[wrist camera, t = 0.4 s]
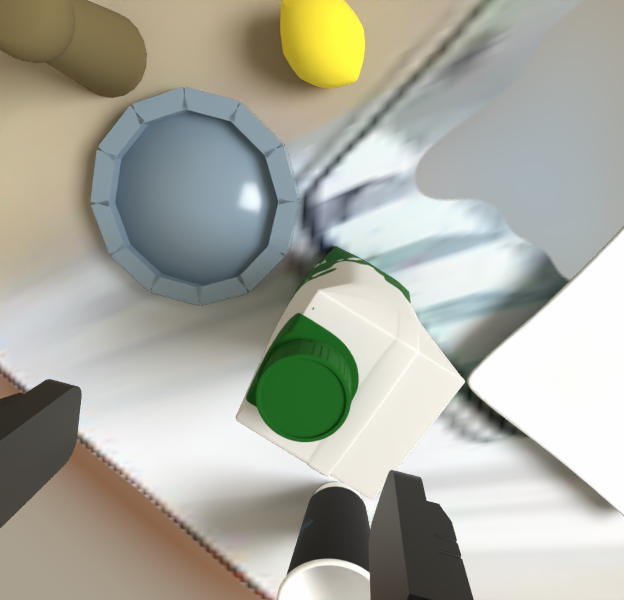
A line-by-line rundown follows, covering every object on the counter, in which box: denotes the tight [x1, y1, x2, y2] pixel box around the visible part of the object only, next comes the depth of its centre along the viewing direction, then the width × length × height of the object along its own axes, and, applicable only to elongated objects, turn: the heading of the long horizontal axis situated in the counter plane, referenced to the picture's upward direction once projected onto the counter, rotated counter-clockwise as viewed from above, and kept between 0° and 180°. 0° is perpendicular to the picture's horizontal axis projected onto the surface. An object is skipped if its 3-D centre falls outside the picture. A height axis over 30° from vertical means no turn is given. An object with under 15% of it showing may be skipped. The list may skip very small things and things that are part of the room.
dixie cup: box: [277, 482, 371, 600], centre depth 38 cm, size 8×8×11 cm
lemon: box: [280, 0, 365, 89], centre depth 31 cm, size 7×5×5 cm
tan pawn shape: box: [0, 0, 147, 98], centre depth 30 cm, size 6×6×11 cm
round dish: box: [90, 87, 301, 306], centre depth 36 cm, size 16×16×2 cm
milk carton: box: [236, 246, 465, 500], centre depth 29 cm, size 9×9×20 cm
